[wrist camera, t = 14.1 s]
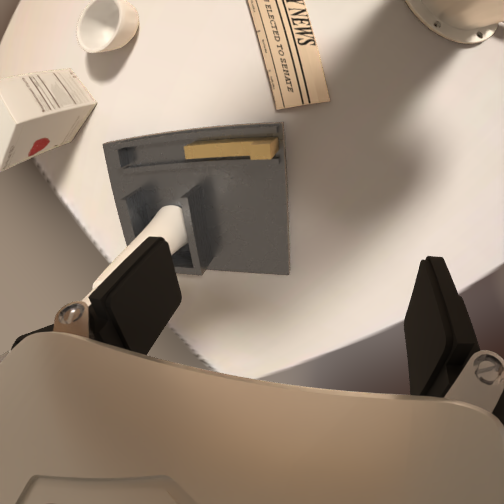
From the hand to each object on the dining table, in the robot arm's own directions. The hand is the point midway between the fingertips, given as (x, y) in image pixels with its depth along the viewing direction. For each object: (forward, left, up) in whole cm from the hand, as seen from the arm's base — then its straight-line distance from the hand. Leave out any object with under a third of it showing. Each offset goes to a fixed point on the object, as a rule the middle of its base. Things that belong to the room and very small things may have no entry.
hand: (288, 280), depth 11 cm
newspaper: (+3, -16, -27) cm, 31 cm away
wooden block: (+10, -1, -24) cm, 26 cm away
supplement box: (+36, -10, -26) cm, 45 cm away
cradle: (+17, +7, -26) cm, 31 cm away
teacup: (+24, -20, -26) cm, 40 cm away
